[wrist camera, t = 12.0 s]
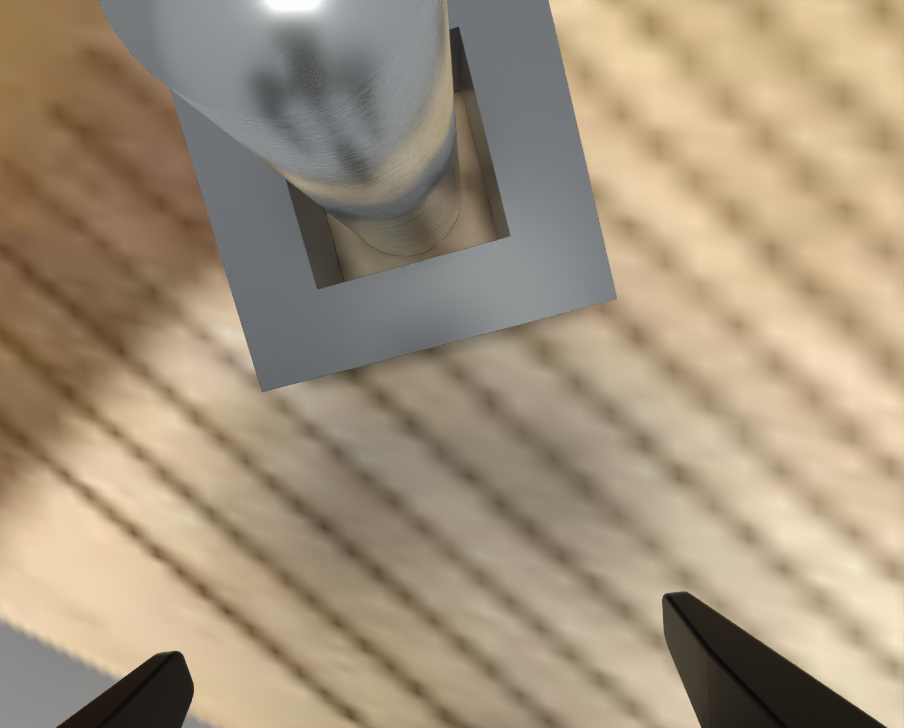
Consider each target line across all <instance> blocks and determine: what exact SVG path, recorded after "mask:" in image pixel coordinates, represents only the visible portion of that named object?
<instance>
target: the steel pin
mask: <svg viewBox="0 0 904 728" xmlns="http://www.w3.org/2000/svg"><path fill="white" fill-rule="evenodd" d="M98 1H99V3H100V5H101V7H102V9H103V12H104V14H105V16H106V18H107V20H108V21H109V23H110V24H111V26H112V28H113V29H114V31H115V32H116V34H117V36H118V37H119V39H120V40H121V41H122V43H123V44H124V45H125V46H126V48H127V49H128V50H129V51H130V52H131V54H132V55H133V56H134V57H135V58H136V59H137V60H138V61H139V62H140V63H141V64H142V65H143V66H144V67H145V68H146V69H147V70H148V71H149V72H150V73H151V74H152V75H154V76H155V77H156V78H157V79H159V80H160V81H161V82H162V83H164V84H165V85H166V86H168V87H169V88H170V89H171V90H173V91H174V92H175V93H177V94H178V95H179V96H180V97H182V98H183V99H184V100H185V101H187V102H188V103H189V104H191V105H192V106H193V107H194V108H196V109H197V110H198V111H200V112H201V113H202V114H203V115H205V116H206V117H207V118H208V119H210V120H211V121H212V122H214V123H215V124H216V125H217V126H219V127H220V128H221V129H223V130H224V131H225V132H226V133H228V134H229V135H230V136H231V137H233V138H234V139H235V140H237V141H238V142H239V143H240V144H242V145H243V146H244V147H246V148H247V149H248V150H249V151H251V152H252V153H253V154H255V155H256V156H257V157H258V158H260V159H261V160H262V161H263V162H265V163H266V164H267V165H269V166H270V167H271V168H272V169H274V170H275V171H276V172H278V173H279V174H280V175H281V176H283V177H284V178H285V179H286V180H288V181H289V182H290V183H292V184H293V185H294V186H295V187H297V188H298V189H299V190H301V191H302V192H303V193H304V194H306V195H307V196H308V197H309V198H311V199H312V200H313V201H315V202H316V203H317V204H318V205H320V206H321V207H322V208H324V209H325V210H326V211H327V212H329V213H330V214H331V215H333V216H334V217H335V218H336V219H338V220H339V221H340V222H341V223H343V224H344V225H345V226H347V227H348V228H349V229H350V230H352V231H353V232H354V233H356V234H357V235H358V236H359V237H361V238H362V239H363V240H364V241H366V242H367V243H368V244H370V245H371V246H372V247H374V248H376V249H378V250H379V251H382V252H384V253H387V254H391V255H397V256H410V255H416V254H419V253H423V252H425V251H427V250H429V249H431V248H433V247H434V246H436V245H437V244H438V243H440V242H441V241H442V240H443V239H444V238H445V237H446V236H447V235H448V233H449V232H450V230H451V229H452V227H453V225H454V224H455V222H456V219H457V216H458V213H459V209H460V203H461V187H460V174H459V160H458V146H457V133H456V119H455V105H454V92H453V78H452V64H451V50H450V37H449V23H448V9H447V0H98Z"/></svg>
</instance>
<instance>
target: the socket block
mask: <svg viewBox="0 0 904 728" xmlns="http://www.w3.org/2000/svg"><path fill="white" fill-rule="evenodd" d="M447 9H448V23H449V37H450V50H451V64H452V78H453V92H454V93H455V92H458V91H461V92H462V96H463V100H464V104H465V108H466V112H467V116H468V120H469V124H470V128H471V132H472V136H473V140H474V144H475V148H476V152H477V156H478V160H479V164H480V168H481V172H482V176H483V180H484V184H485V188H486V192H487V196H488V200H489V204H490V208H491V212H492V216H493V220H494V224H495V228H496V232H497V236H498V240H496V241H492V242H488V243H485V244H481V245H477V246H474V247H470V248H467V249H463V250H459V251H456V252H452V253H448V254H445V255H441V256H438V257H434V258H430V259H427V260H423V261H419V262H416V263H412V264H409V265H405V266H401V267H398V268H394V269H390V270H387V271H383V272H379V273H376V274H372V275H369V276H365V277H361V278H358V279H354V280H350V281H347V282H344V279H343V275H342V272H341V268H340V264H339V261H338V257H337V254H336V250H335V247H334V243H333V240H332V236H331V232H330V229H329V225H328V222H327V218H326V215H325V211H324V208H322V207H321V206H320V205H318V204H317V203H316V202H315V201H313V200H312V199H311V198H309V197H308V196H307V195H306V194H304V193H303V192H302V191H301V190H299V189H298V188H297V187H295V186H294V185H293V184H292V183H290V182H289V181H288V180H286V179H285V178H284V177H283V176H281V175H280V174H279V173H278V172H276V171H275V170H274V169H272V168H271V167H270V166H269V165H267V164H266V163H265V162H263V161H262V160H261V159H260V158H258V157H257V156H256V155H255V154H253V153H252V152H251V151H249V150H248V149H247V148H246V147H244V146H243V145H242V144H240V143H239V142H238V141H237V140H235V139H234V138H233V137H231V136H230V135H229V134H228V133H226V132H225V131H224V130H223V129H221V128H220V127H219V126H217V125H216V124H215V123H214V122H212V121H211V120H210V119H208V118H207V117H206V116H205V115H203V114H202V113H201V112H200V111H198V110H197V109H196V108H194V107H193V106H192V105H191V104H189V103H188V102H187V101H185V100H184V99H183V98H182V97H180V96H179V95H178V94H177V93H175V92H174V91H173V90H171V89H170V90H171V93H172V97H173V100H174V103H175V107H176V110H177V113H178V117H179V120H180V123H181V126H182V130H183V133H184V136H185V140H186V143H187V146H188V150H189V153H190V156H191V160H192V163H193V166H194V169H195V173H196V176H197V179H198V183H199V186H200V189H201V193H202V196H203V199H204V202H205V206H206V209H207V212H208V216H209V219H210V222H211V226H212V229H213V232H214V235H215V239H216V242H217V245H218V249H219V252H220V255H221V259H222V262H223V265H224V268H225V272H226V275H227V278H228V282H229V285H230V288H231V292H232V295H233V298H234V302H235V305H236V308H237V311H238V315H239V318H240V321H241V325H242V328H243V331H244V335H245V338H246V341H247V344H248V348H249V351H250V354H251V358H252V361H253V364H254V368H255V371H256V374H257V377H258V381H259V384H260V387H261V391H262V392H265V391H269V390H272V389H276V388H280V387H284V386H288V385H291V384H295V383H299V382H303V381H307V380H310V379H314V378H318V377H322V376H326V375H330V374H333V373H337V372H341V371H345V370H349V369H352V368H356V367H360V366H364V365H368V364H371V363H375V362H379V361H383V360H387V359H391V358H394V357H398V356H402V355H406V354H410V353H413V352H417V351H421V350H425V349H429V348H432V347H436V346H440V345H444V344H448V343H451V342H455V341H459V340H463V339H467V338H471V337H474V336H478V335H482V334H486V333H490V332H493V331H497V330H501V329H505V328H509V327H512V326H516V325H520V324H524V323H528V322H532V321H535V320H539V319H543V318H547V317H551V316H554V315H558V314H562V313H566V312H570V311H573V310H577V309H581V308H585V307H589V306H593V305H596V304H600V303H604V302H608V301H612V300H615V299H617V296H616V292H615V288H614V283H613V279H612V275H611V270H610V266H609V262H608V257H607V253H606V248H605V244H604V240H603V235H602V231H601V227H600V222H599V218H598V214H597V209H596V205H595V201H594V196H593V192H592V188H591V183H590V179H589V175H588V170H587V166H586V161H585V157H584V153H583V148H582V144H581V140H580V135H579V131H578V127H577V122H576V118H575V114H574V109H573V105H572V101H571V96H570V92H569V88H568V83H567V79H566V75H565V70H564V66H563V61H562V57H561V53H560V48H559V44H558V40H557V35H556V31H555V27H554V22H553V18H552V14H551V9H550V5H549V1H548V0H447Z"/></svg>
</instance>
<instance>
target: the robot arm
mask: <svg viewBox="0 0 904 728" xmlns="http://www.w3.org/2000/svg"><path fill="white" fill-rule="evenodd" d="M662 608H663V624H664V635H665V639H666V643H667V646H668V648H669V651H670V653H671V656H672V658H673V660H674V663H675V665H676V668H677V670H678V673H679V675H680V677H681V680H682V682H683V685H684V687H685V689H686V692H687V694H688V697H689V699H690V701H691V704H692V706H693V709H694V711H695V714H696V716H697V718H698V721H699V723H700V726H701V728H887V727H886V726H884V725H883V724H881V723H880V722H878V721H877V720H876V719H874V718H873V717H871V716H870V715H868V714H867V713H865V712H864V711H862V710H861V709H859V708H858V707H856V706H855V705H853V704H852V703H850V702H849V701H848V700H846V699H845V698H843V697H842V696H840V695H839V694H837V693H836V692H834V691H833V690H831V689H830V688H828V687H827V686H825V685H824V684H823V683H821V682H820V681H818V680H817V679H815V678H814V677H812V676H811V675H809V674H808V673H806V672H805V671H803V670H802V669H800V668H799V667H798V666H796V665H795V664H793V663H792V662H790V661H789V660H787V659H786V658H784V657H783V656H781V655H780V654H778V653H777V652H775V651H774V650H773V649H771V648H770V647H768V646H767V645H765V644H764V643H762V642H761V641H759V640H758V639H756V638H755V637H753V636H752V635H750V634H749V633H747V632H746V631H745V630H743V629H742V628H740V627H739V626H737V625H736V624H734V623H733V622H731V621H730V620H728V619H727V618H725V617H724V616H722V615H721V614H720V613H718V612H717V611H715V610H714V609H712V608H711V607H709V606H708V605H706V604H705V603H703V602H702V601H700V600H699V599H697V598H696V597H695V596H693V595H692V594H690V593H688V592H684V591H682V592H674V593H666V594H664V595H663V598H662ZM193 694H194V684H193V681H192V678H191V675H190V672H189V669H188V667H187V664H186V661H185V658H184V656H183V654H182V653H181V652H179V651H171V652H162V653H158V654H156V655H154V656H152V657H151V658H150V659H148V660H147V661H146V662H144V663H143V664H142V665H140V666H139V667H137V668H136V669H135V670H133V671H132V672H131V673H129V674H128V675H127V676H125V677H124V678H123V679H121V680H120V681H119V682H117V683H116V684H114V685H113V686H112V687H111V688H109V689H108V690H106V691H105V692H104V693H102V694H101V695H100V696H98V697H97V698H96V699H94V700H93V701H92V702H90V703H89V704H88V705H86V706H85V707H83V708H82V709H81V710H79V711H78V712H77V713H75V714H74V715H73V716H71V717H70V718H69V719H67V720H66V721H65V722H63V723H62V724H60V725H59V726H58V727H56V728H181V727H182V725H183V722H184V719H185V717H186V714H187V712H188V709H189V707H190V704H191V702H192V698H193Z"/></svg>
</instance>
